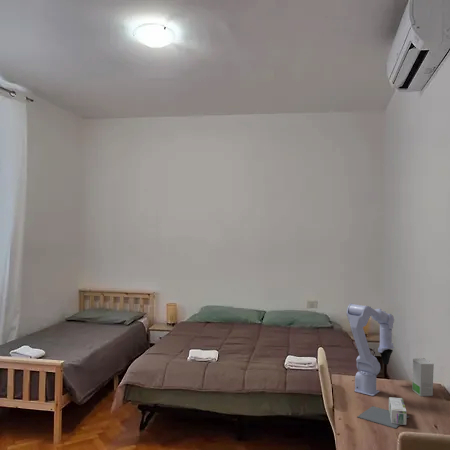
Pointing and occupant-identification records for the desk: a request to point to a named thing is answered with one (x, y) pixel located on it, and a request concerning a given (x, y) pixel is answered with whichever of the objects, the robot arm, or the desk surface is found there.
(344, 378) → the desk surface
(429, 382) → the skincare box
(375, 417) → the mat
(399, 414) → the syrup box
